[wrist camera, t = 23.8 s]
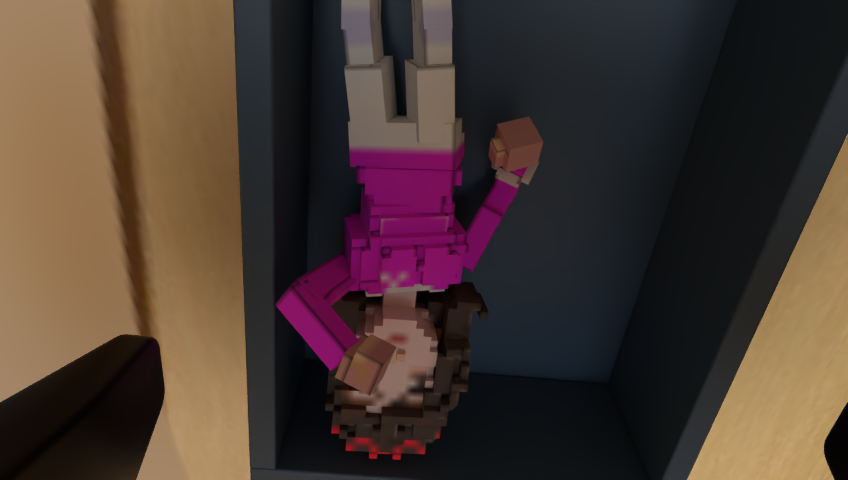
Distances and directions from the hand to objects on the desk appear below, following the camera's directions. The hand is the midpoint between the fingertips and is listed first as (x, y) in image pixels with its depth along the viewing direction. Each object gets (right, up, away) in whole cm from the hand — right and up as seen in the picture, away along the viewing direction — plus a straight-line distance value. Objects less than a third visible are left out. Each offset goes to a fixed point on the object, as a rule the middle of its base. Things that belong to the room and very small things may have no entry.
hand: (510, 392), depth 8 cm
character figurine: (-1, +4, +7) cm, 8 cm away
